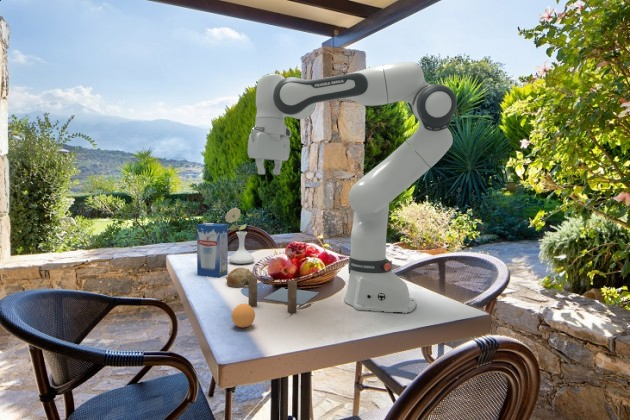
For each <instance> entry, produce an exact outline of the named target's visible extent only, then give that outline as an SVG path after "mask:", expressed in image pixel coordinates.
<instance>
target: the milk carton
mask: <svg viewBox="0 0 630 420" xmlns="http://www.w3.org/2000/svg"><path fill="white" fill-rule="evenodd" d="M228 225H229V224H226V223H225V224H224V223H212V222H203V223H198V224H196V266H197V267H196V271H197V272H196V273H197V276H198V277H199V276H200V277H207V276H208V277H209V278H216V277H217V278H218V279H219V278H222V277H224V276H228V274H229V273H228V269H229V268H228V267H229V266H228V264H229V262H228V261H229V258H228V257H229V256H228V249H229V248H228V245H229V244H228V242H229V241H228V239H229V238H228V237H229V236H228V235H229V234H228V233H229V230H228V229H229V227H228Z"/></svg>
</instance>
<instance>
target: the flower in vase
mask: <svg viewBox="0 0 630 420" xmlns="http://www.w3.org/2000/svg"><path fill="white" fill-rule="evenodd" d="M240 216H241V208H240V209H239V208H238V207H234V208H233V207H232V208H231V209H229V211H227V212H226V215H225V217H224V218H225V222H227V223H233V222H235V224H236V225H235V224H232V225H231V226H230V227H228V231H229V230H230V231H235V230H237V228H238V231H236V232H235V234H236V235H237V237H238V248H237V250H236V251H235V252H234V253H232V254H231V255H230V256H228V257H229V258H228V261H229V262H230V263H231V264H232V263H233V264H238V265H241V264H243V265H244V264H250V263H252V262H254V261H255V257H254V256H253V255H252V254H251V253H250V252H249V251H248V250H247V249H246V247H245V239H246V236H247V234H248V232H247V231H241V230H245V229H246V228H247V223H245V224H243V225H241V226H239V225H238V223H237V222H238V219H239V218H240Z"/></svg>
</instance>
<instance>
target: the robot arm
mask: <svg viewBox="0 0 630 420" xmlns="http://www.w3.org/2000/svg"><path fill="white" fill-rule="evenodd" d="M256 83H257V85H256V90H255V107H256V114H255V121H254V122H255V125H254V126H253V127H252V129H251V130H250V134H249V136H248V143H247V156H248V158H250V159H255V165H256V167H257V174H258V175H265V174H266V168H265V166H264V163H265V160H267V161H268V160H270V161H274V168H273V169H272V175H277V176H279V175H280V174H281V168H282V166H283V161H284V162H285V161H288V160H289V158H290V153H291V152H290V150H291V145H290V143H291V140H290V138H291V136H292V131H291V130H290V129H289V128H288V126H287V125H286V124H285V118H286V117H288V118H289V117H290V118H294V119H296V120H303V119H307V118H310V116H311V115H312V114H313V113H314V112H315V109H316V107H317V104H319V103H324V102H331V101H338V100H348V101H353V102H356V103H359V104H361V105H362V106H369V107H371V106H372V107H373V106H374V107H375V106H383V105H387V104H388V105H389V104H392V103H398V102H399V103H400V102H405V103H407V104H408V106H409V108H410V110H411V113H412V115H413V116H414V117H415V118H416V119H417V120H418V121H419V125H418V127H417V129H416V130H415V132H414V133H413V134H412V135H411V136H410V137H408V139H407V140H405V141H404V142H403V143H401V144H400V145H399V146H398V148H396V149H395V150H394V151H393V152H392V153H390V154H389V155H388V156H387V157H386V158H385V159H384V160H381V162H380V163H379V164H377V165H376V166H375V167H373V168H372V169H371V170H370V171H368V172H367V173H366V174H365V175H363V176H362V178H360V179H359V180H358V181H357V182H355V183H354V184H353V185H352V187H351V188H350V190H349V192H348V204H349V206H350V207H351V209H352V210H353V211H354V213H353V221H352V228H351V233H350V256H349V257H348V264H347V265H348V269H347V270H348V274H349V275H348V281H347V282H348V284H347V287H346V288H347V289H346V293H345V295H344V299H343V301H344V302H345V303H346V304H348V305H349V306H353V308H354V309H355V310H359V311H368V310H371V312H381V311H384V312H383V313H393V312H403V313H402V314H408V313H407V312H409V313H411V312H410V311H412V310H413V309H414V308H415V307H416V308H417V301H416V300H415V298H412V297H410V292H409V291H410V290H409V286H408V285H407V283H406V281H404V280H403V279H401V278H400V277H399V276H398V275H397V274H396V273H395V272H393V271H392V270H393V269H392V268H393V267H392V266H393V260H389V258H386V256H387V255H386V253H387V231H388V224H389V223H388V222H389V212H390V211H389V210H390V209H389V208H390V203H391V202H392V201H394V199H396V198H397V197H398V196H399V195H401V194H402V193H403V192H404V191H405V190H407V189H408V188H409V187H410V186H412V185H413V184H414V183H415V182H416V181H417V180H419V179H420V178H421V177H422V176H423V175H425V173H427V172H428V171H429V170H430V169H431V168H432V167H434V166H435V164H437V163H438V162H439V161H440V160H441V159H442V158H443V157H444V155H445V154H446V153H447V152H448V151H449V149H450V148H451V147H452V145H453V142H454V140H453V139H454V138H453V135H452V132H451V131H450V129H449V128H448V127H449V126H450V124H451V122H452V119H453V116H454V114H455V112H456V110H457V109H456V108H457V98H456V95H455V93H454V91H453V90H452V88H450V87H448V86H447V85H444V84H440V83H438V84H436V83H435V84H430V83H427V81H426V80H425V73H424V71H423V68H422V67H421V65H419V64H418V63H416V62H414V61H404V62H403V61H402V62H401V61H400V62H391V63H386V64H380V65H375V66H373V67H372V66H371V67H369V68H368V67H367V68H364V69H362V70H357V71H354V72H350V73H347V74H346V73H345V74H340V75H334V76H333V75H332V76H327V77H321V78H313V79H304V78H299V77H295V76H288V77H285V76H283V75H282V74H279V73H268V74H265V75H262V76H261V77H260V78H259V79H258V81H257V82H256ZM416 308H415V309H416ZM415 309H414V310H415ZM414 310H413V311H414ZM413 311H412V312H413ZM404 312H405V313H404Z"/></svg>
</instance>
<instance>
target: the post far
mask: <svg viewBox="0 0 630 420" xmlns="http://www.w3.org/2000/svg"><path fill="white" fill-rule="evenodd" d="M248 305H250V306H251V307H252V308H256V307H258V275H254V274H253V275H252V276H249V287H248Z"/></svg>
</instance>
